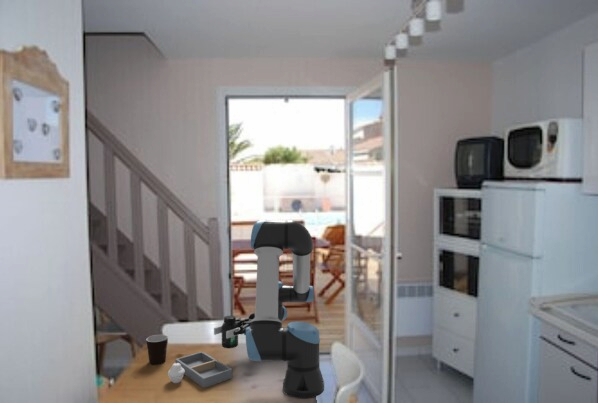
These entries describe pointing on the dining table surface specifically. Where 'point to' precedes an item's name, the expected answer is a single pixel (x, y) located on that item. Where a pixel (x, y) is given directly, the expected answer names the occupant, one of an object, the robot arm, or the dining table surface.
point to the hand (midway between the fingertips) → (220, 333)
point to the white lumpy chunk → (176, 373)
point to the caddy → (204, 369)
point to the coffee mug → (157, 349)
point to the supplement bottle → (228, 325)
